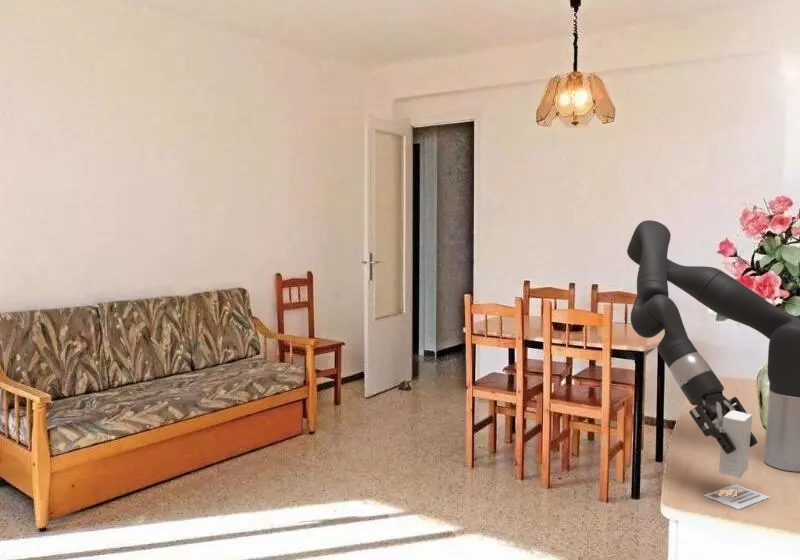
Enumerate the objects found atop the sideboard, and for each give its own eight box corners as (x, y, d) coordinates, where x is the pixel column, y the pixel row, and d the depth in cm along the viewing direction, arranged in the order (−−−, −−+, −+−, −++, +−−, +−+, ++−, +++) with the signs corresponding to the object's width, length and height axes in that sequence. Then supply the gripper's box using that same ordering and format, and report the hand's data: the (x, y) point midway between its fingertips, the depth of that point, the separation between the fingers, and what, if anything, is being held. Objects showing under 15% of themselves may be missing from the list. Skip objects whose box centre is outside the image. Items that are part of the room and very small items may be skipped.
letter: (735, 484, 146) (735, 484, 146) (769, 497, 140) (769, 496, 140) (703, 496, 140) (703, 495, 140) (738, 510, 134) (738, 509, 134)
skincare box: (726, 464, 144) (730, 409, 142) (748, 470, 141) (753, 414, 139) (717, 473, 139) (722, 416, 138) (740, 479, 136) (745, 421, 135)
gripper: (704, 383, 153) (749, 450, 144) (662, 391, 145) (708, 463, 137) (728, 365, 148) (777, 434, 139) (686, 373, 140) (735, 446, 132)
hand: (742, 448), depth 138 cm, fingers closed on skincare box, 7 cm apart
